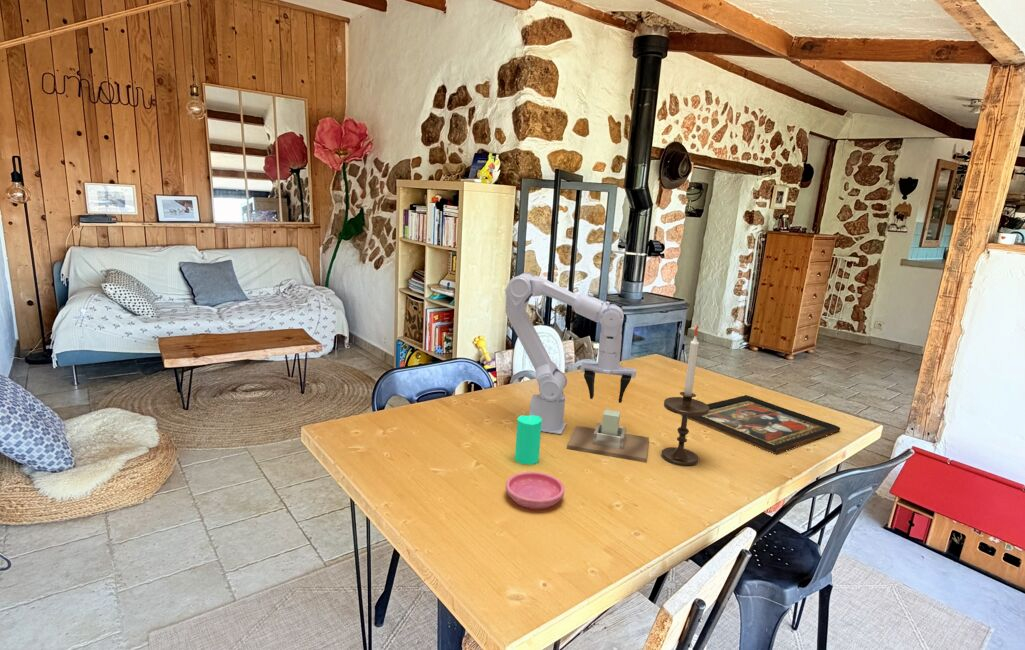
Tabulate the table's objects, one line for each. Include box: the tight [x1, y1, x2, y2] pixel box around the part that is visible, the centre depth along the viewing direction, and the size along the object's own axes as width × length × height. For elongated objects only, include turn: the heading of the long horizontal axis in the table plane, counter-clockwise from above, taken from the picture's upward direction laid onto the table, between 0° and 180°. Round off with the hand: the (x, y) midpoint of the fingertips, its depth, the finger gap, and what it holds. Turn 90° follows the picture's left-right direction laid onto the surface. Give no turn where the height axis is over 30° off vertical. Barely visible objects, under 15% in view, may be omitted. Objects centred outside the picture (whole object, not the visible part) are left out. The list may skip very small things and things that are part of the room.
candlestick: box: [660, 323, 710, 467], centre depth 138 cm, size 11×11×35 cm
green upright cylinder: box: [514, 414, 542, 466], centre depth 135 cm, size 6×6×12 cm
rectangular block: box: [601, 408, 621, 436], centre depth 146 cm, size 4×4×8 cm
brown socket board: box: [566, 422, 650, 463], centre depth 147 cm, size 20×14×4 cm
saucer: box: [505, 471, 565, 510], centre depth 118 cm, size 12×12×3 cm
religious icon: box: [687, 394, 841, 455], centre depth 169 cm, size 38×35×3 cm
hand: (605, 399), depth 151 cm, fingers open, 7 cm apart
